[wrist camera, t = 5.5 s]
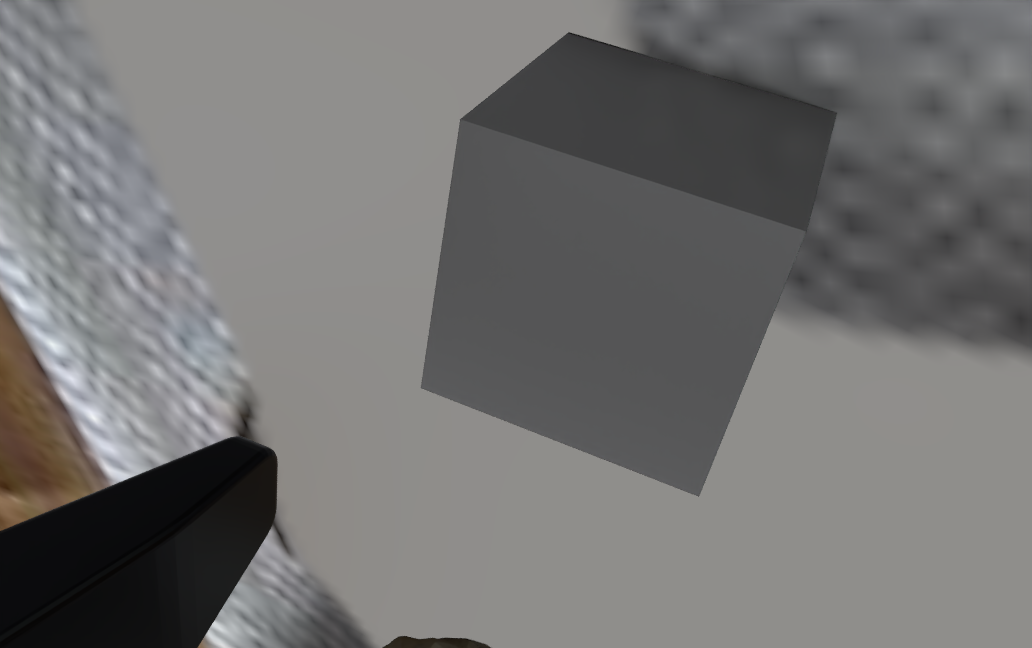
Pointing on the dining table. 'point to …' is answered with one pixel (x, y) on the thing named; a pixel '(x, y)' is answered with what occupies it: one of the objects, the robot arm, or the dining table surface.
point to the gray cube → (619, 252)
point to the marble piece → (435, 643)
